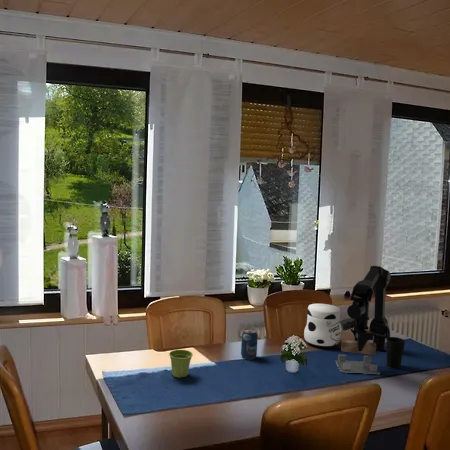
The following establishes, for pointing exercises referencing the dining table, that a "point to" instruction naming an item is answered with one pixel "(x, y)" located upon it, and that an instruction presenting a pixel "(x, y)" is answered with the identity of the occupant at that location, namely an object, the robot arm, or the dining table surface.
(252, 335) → the soda can
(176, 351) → the plant pot
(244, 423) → the dining table surface
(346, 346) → the rail
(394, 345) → the cup
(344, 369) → the brackets
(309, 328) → the milk container
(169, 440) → the dining table surface
